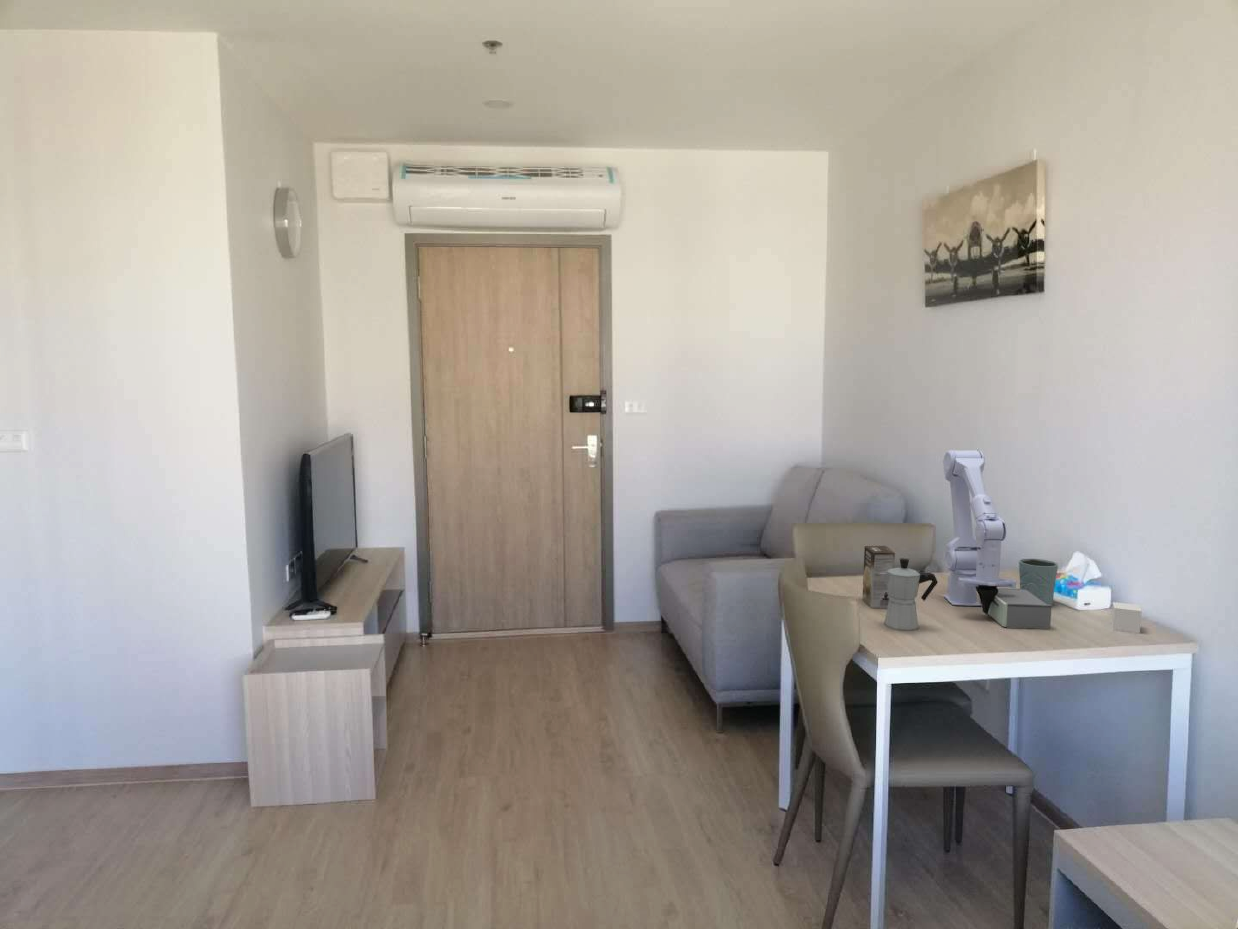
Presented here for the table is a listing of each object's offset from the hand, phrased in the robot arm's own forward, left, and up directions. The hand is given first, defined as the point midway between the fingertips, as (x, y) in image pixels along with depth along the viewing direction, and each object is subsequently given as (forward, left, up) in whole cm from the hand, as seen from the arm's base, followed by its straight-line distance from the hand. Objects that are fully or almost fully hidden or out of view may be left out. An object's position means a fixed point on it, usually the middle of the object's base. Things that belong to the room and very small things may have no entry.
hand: (985, 612), depth 227 cm
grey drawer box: (0, +8, -1) cm, 8 cm away
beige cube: (+5, +34, -2) cm, 34 cm away
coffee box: (-11, -26, -2) cm, 28 cm away
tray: (0, +8, -1) cm, 8 cm away
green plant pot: (-17, +20, -2) cm, 26 cm away
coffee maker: (+10, -23, -2) cm, 25 cm away
